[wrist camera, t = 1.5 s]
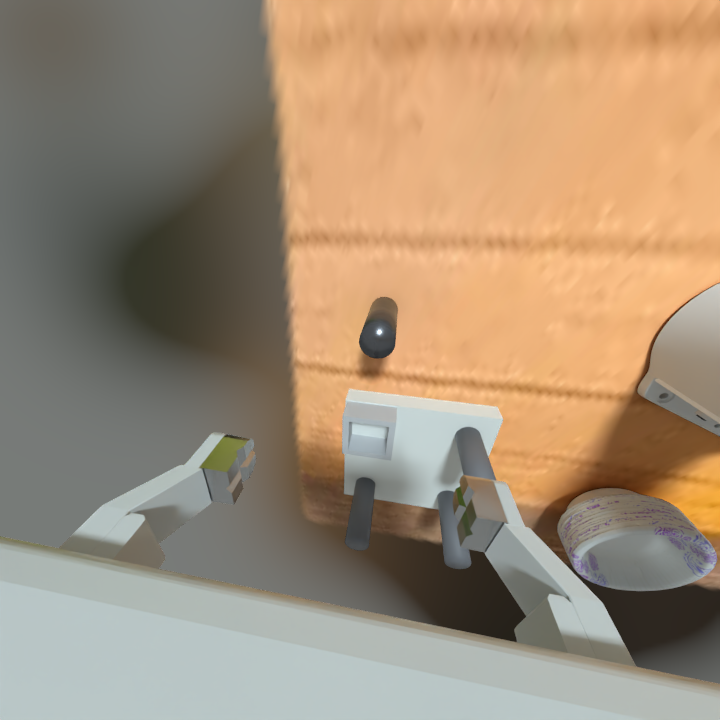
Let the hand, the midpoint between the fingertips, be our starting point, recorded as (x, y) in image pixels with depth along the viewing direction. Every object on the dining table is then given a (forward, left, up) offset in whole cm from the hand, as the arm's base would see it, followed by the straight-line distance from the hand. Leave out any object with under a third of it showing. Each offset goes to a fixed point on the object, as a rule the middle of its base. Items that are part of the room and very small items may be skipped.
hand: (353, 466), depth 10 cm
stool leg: (-1, +1, -23) cm, 23 cm away
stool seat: (-18, +16, -23) cm, 33 cm away
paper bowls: (-47, +5, -24) cm, 52 cm away
